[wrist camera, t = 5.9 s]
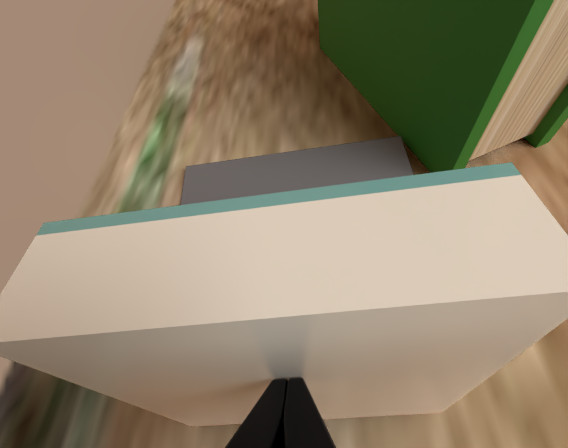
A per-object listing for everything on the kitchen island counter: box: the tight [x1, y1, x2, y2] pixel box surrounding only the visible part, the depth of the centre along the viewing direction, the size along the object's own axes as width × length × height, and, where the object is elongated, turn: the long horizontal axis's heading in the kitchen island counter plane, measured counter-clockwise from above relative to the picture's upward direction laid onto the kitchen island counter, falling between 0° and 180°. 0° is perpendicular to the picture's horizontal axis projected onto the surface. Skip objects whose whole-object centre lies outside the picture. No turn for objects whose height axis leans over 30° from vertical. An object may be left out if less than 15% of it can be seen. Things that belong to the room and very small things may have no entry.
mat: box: [181, 136, 414, 205], centre depth 19 cm, size 12×15×1 cm
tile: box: [0, 162, 568, 426], centre depth 10 cm, size 3×11×11 cm, turn 93°
